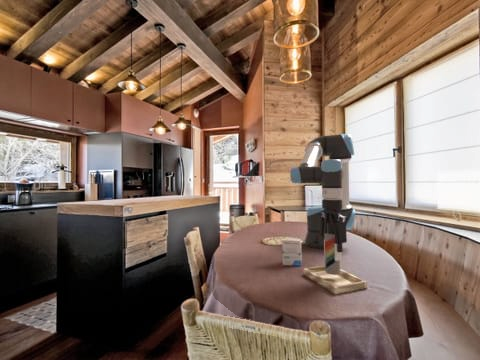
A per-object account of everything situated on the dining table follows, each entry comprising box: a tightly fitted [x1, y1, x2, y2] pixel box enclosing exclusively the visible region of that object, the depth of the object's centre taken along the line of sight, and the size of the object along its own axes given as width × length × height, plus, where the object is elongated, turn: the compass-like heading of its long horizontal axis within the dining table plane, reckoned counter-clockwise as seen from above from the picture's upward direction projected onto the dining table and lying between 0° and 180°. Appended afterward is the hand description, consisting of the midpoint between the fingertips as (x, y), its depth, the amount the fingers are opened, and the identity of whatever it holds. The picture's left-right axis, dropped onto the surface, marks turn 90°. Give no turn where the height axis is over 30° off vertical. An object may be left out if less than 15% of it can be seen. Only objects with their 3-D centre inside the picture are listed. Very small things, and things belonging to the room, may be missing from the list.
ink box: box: [281, 237, 303, 267], centre depth 121 cm, size 9×5×12 cm, turn 71°
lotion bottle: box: [324, 222, 341, 275], centre depth 100 cm, size 6×6×20 cm
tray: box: [303, 264, 368, 295], centre depth 100 cm, size 20×14×2 cm
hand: (332, 257), depth 100 cm, fingers closed on lotion bottle, 6 cm apart
